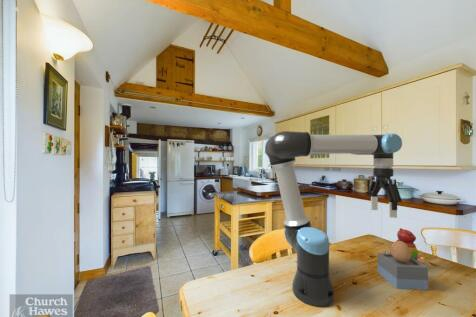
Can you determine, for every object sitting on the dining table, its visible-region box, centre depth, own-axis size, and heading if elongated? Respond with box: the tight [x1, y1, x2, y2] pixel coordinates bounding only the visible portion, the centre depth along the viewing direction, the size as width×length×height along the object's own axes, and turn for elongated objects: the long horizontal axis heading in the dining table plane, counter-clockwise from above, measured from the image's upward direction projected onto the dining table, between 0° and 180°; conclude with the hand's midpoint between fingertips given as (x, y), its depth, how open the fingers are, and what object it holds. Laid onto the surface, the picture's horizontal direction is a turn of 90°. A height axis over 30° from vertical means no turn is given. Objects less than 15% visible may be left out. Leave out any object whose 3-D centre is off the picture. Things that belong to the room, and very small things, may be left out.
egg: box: [390, 240, 411, 263], centre depth 86 cm, size 7×7×9 cm
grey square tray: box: [377, 252, 429, 291], centre depth 86 cm, size 12×12×9 cm
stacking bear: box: [396, 228, 419, 261], centre depth 98 cm, size 11×10×18 cm
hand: (382, 213), depth 92 cm, fingers open, 13 cm apart
